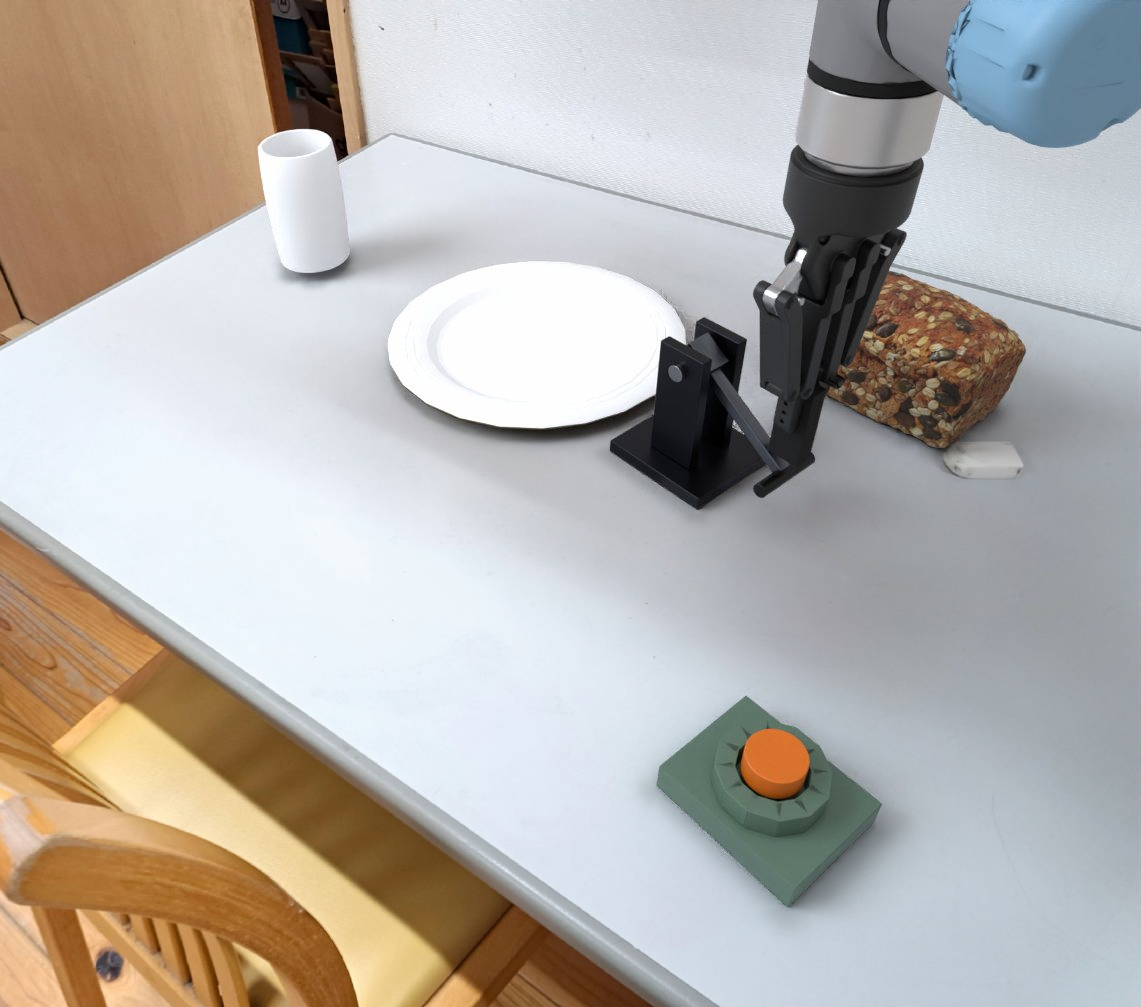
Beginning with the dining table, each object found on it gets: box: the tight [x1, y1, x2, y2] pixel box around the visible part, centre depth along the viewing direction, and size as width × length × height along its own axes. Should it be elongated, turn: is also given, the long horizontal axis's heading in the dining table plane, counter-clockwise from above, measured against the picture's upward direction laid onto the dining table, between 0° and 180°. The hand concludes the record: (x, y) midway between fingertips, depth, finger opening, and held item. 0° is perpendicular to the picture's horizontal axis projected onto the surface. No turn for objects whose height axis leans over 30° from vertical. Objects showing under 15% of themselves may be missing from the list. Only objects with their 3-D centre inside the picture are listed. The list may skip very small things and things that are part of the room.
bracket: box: [609, 316, 766, 510], centre depth 78 cm, size 10×9×12 cm
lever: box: [686, 333, 816, 499], centre depth 74 cm, size 13×6×2 cm
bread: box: [825, 270, 1027, 449], centre depth 84 cm, size 19×11×10 cm, turn 39°
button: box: [741, 729, 810, 799], centre depth 55 cm, size 4×4×2 cm
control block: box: [656, 695, 883, 908], centre depth 57 cm, size 10×8×4 cm
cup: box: [257, 128, 351, 274], centre depth 105 cm, size 8×8×14 cm
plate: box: [387, 260, 687, 431], centre depth 94 cm, size 29×29×2 cm
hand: (788, 454), depth 72 cm, fingers closed
